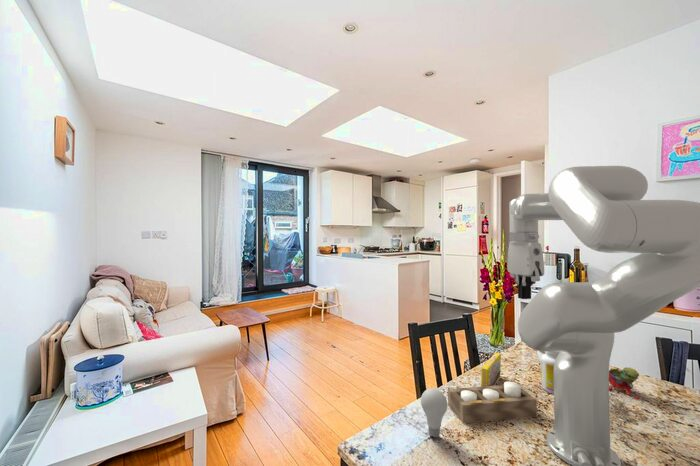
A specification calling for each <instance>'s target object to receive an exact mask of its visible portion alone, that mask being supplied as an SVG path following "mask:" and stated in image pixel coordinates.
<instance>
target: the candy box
mask: <svg viewBox="0 0 700 466" xmlns="http://www.w3.org/2000/svg"><path fill="white" fill-rule="evenodd" d="M501 355H502V354H501V353H499V352H494V354H493V355H492V356H491V357H490V358H489V359H488V360H487V361H486V362H485V364H483V365H482V367H481V375H480V376H481V377H480V379H481V380H480V387H483V386H496V384H497V382H498V381H499V379H500V378H501V367H502V366H501V362H502V361H501V357H502V356H501Z"/></svg>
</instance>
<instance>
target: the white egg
mask: <svg viewBox="0 0 700 466" xmlns="http://www.w3.org/2000/svg"><path fill="white" fill-rule="evenodd" d="M461 398H462V399H463V400H464V401H465V402H467V401H476V400H477V395H476V394H475V393H474V392H472V391H468V390H463V391H461Z"/></svg>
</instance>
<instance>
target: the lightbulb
mask: <svg viewBox="0 0 700 466" xmlns="http://www.w3.org/2000/svg"><path fill="white" fill-rule="evenodd" d="M420 405H421V408H422V410H423V412H424V414H425V416H426V423H427V426H428V427H427V428H428V435H430V436H431V437H432V436H433V437H432V438H438V437H439V436H440V434H441V427H442V419H443V417H444V416H445V414H446V413H447V409H448V399H447V398H446V396H445V394H444V393H443V392H442V391H441V390H439V389H437V388H434V387H433V388H432V387H430V388H428V389H425V390H424V391H423V393H422V395H421V398H420Z"/></svg>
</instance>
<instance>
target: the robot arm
mask: <svg viewBox="0 0 700 466" xmlns="http://www.w3.org/2000/svg"><path fill="white" fill-rule="evenodd" d="M648 188H649V182H648V180H647V178H646V176H645V175H644V174H643V173H642V172H641V171H639V170H638V169H636V168H634V167H630V166H626V165H625V166H624V165H590V166H589V165H585V166H583V165H582V166H571V167H568V168H565V169H562V170H560V171H559V172H558V173H557V174H556V175H554V177H553V178H552V179H551V180H550V183H549V186H548V192H545V193H544V192H542V193H524V194H521V195H519V196H518V197H517V198H513V199H511V200H510V201H509V204H508V205H509V206H508V209H509V210H508V213H509V214H508V216H509V217H508V218H509V244H508V249H507V270H508V272H509V276H510V277H511V278H513V279H514V280H515V284H516V285H517V297H518V299H521V300H530V301H529V302H528V304H526V305H525V307H524V308H523V309H522V311H521V313H520V314H519V318H518V321H517V332H518V334H519V337H520V339H521V341H522V342H523V343H524V344H525V346H528V348H530V349H532V350H535V351H537V350H538V351H549V352H560V353H559V354H558V356H557V358H556V360H555V363H554V394H553V410H554V412H553V413H554V414H553V416H554V417H553V420H554V429H550V430H549V431H548V432H547V433H546V444H547V446H548V447H549V449H550V450H551V452H553V453H554V454H555V455H556V456H557V457H558V458H560V459H561V460H563V461H564V462H565V463H567V464H568V465H571V466H622V464H621V463H622V461H621V458H620V457H619V456H618V454H617V453H616V452H615V451H614V450H613V449H612V448H611V420H610V419H611V418H610V391H609V387H610V382H609V370H610V362H611V356H612V351H613V348H614V345H615V344H614V343H615V333H617V334H618V333H622V332H625V331H626V330H629V329H631V328H632V327H634V326H635V325H637V324H639V323H640V322H642V321H644V320H645V319H647V318H649V317H651V316H652V315H654V314H655V313H658V311H660V310H662V309H663V308H664V307H666V306H667V305H669V304H671V303H673V302H674V301H676V300H678V299H680V298H682V297H684V296H685V295H688V294H689V293H691V292H693V291H695V290H696V289H699V287H700V202H698V201H691V200H683V199H643V198H644V197H645V195H646V194H647V192H648ZM539 221H563V222H564V223H565V224H566V225H567V227H568V228H569V229H570V231H572V233H573V234H574V235H575V236H576V237H577V240H579V241H580V242H581V243H582V244H583V245H585V247H586V248H589V249H591V250H593V251H595V252H600V253H608V254H638V255H635V256H633V257H630V258H628V259H626V260H623V261H621V262H620V263H618V264H616V265H614V266H613V267H612V268H611V269H610V270H609V271H607V272H606V274H604V275H603V276H602V277H601V278H599V279H597V280H595V281H586V282H585V281H584V282H581V281H579V282H576V281H575V282H574V281H573V282H568V281H565V282H563V281H562V282H553V283H550V284H549V283H548V284H547V285H545V286H543V287H542V288H540V289H539V290H538V292H537V293H536V294H535V295H534V296H533V298H532V287H533V286H534V283H535V282H540V281H541V278H540V277H543V276H544V275H545V259H544V258H545V257H544V252H543V248H542V244H541V242H539V238H540V235H539Z"/></svg>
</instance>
